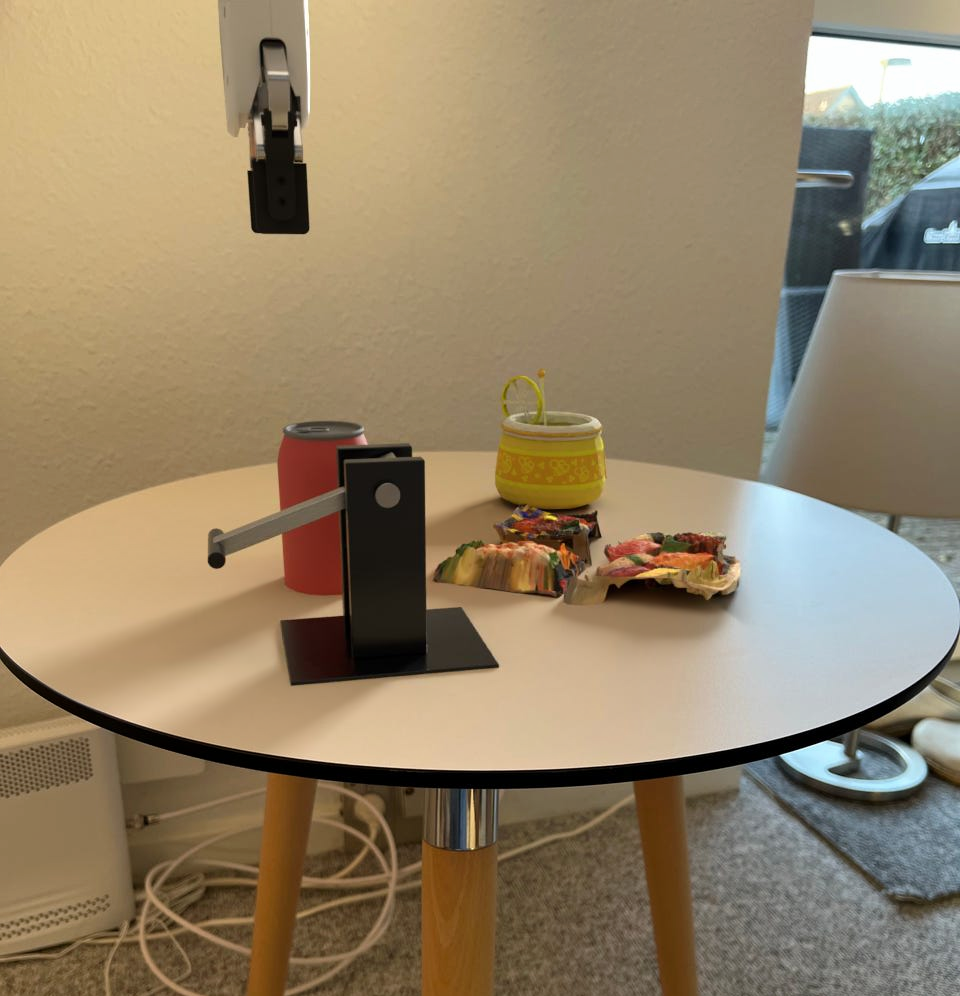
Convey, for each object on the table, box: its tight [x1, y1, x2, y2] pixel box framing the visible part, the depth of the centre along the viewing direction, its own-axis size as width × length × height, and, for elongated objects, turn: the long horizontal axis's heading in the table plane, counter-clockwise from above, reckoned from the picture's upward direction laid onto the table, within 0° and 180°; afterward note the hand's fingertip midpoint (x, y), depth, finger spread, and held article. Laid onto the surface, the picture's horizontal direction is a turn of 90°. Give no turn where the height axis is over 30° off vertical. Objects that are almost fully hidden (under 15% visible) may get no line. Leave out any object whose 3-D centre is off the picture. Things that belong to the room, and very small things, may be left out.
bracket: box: [279, 442, 500, 687], centre depth 60 cm, size 12×10×13 cm
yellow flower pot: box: [494, 368, 608, 510], centre depth 99 cm, size 13×11×12 cm
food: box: [432, 504, 742, 606], centre depth 77 cm, size 22×19×4 cm
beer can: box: [276, 420, 369, 596], centre depth 72 cm, size 7×7×12 cm
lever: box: [207, 452, 396, 570], centre depth 58 cm, size 12×5×2 cm, turn 104°
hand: (278, 233), depth 67 cm, fingers open, 9 cm apart
